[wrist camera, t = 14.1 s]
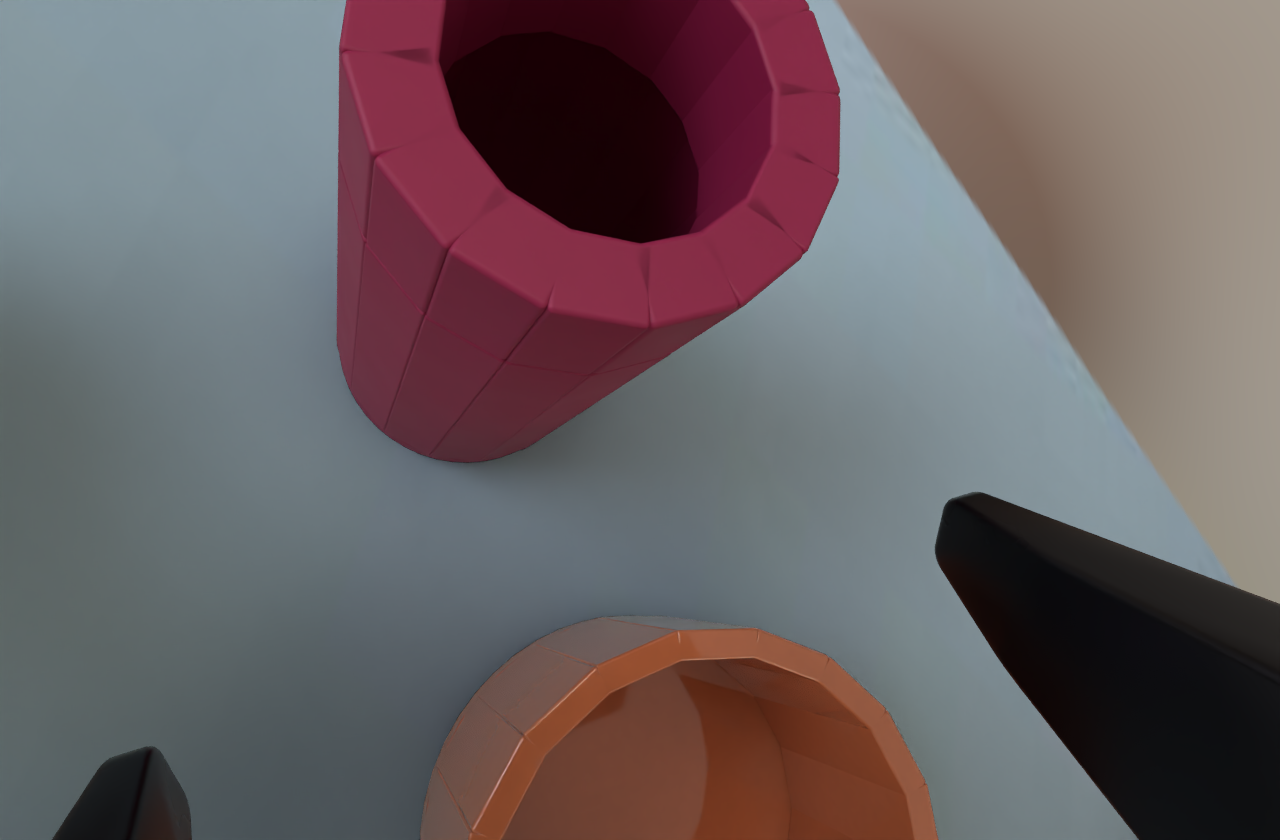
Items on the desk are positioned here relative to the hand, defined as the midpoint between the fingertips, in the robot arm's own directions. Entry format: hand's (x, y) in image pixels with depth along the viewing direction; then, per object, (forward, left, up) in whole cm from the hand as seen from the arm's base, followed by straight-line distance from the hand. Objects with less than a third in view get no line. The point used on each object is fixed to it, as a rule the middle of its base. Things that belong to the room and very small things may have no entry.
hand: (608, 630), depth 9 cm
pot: (-7, -2, -13) cm, 15 cm away
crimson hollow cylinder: (+6, -2, -13) cm, 14 cm away
